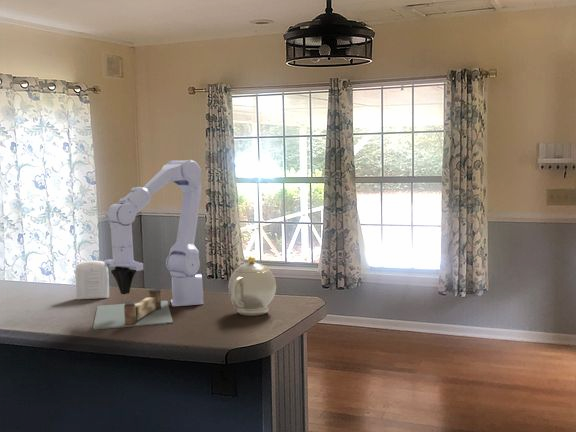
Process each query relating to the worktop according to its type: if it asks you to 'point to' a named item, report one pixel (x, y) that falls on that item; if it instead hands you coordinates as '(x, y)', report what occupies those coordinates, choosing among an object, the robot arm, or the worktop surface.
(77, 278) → the white upright rounded block
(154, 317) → the mat
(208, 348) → the worktop surface
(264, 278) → the teapot
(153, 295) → the brown grey short cylinder
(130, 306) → the latch post
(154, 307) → the cream long bar
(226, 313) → the worktop surface
